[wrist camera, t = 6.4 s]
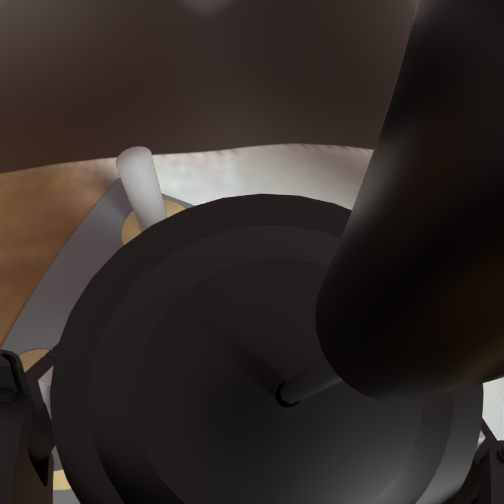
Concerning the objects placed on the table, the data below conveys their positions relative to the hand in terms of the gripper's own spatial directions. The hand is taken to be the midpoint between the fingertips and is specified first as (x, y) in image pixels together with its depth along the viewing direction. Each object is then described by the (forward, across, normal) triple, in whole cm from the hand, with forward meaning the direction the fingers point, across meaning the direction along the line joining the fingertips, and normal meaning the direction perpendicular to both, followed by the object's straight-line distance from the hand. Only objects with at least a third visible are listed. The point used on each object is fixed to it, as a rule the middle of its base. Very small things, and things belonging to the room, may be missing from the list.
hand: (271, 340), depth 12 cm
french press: (+5, 0, -10) cm, 11 cm away
